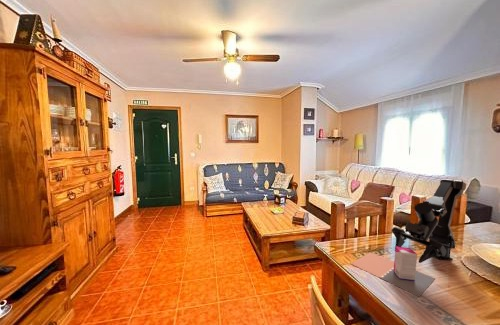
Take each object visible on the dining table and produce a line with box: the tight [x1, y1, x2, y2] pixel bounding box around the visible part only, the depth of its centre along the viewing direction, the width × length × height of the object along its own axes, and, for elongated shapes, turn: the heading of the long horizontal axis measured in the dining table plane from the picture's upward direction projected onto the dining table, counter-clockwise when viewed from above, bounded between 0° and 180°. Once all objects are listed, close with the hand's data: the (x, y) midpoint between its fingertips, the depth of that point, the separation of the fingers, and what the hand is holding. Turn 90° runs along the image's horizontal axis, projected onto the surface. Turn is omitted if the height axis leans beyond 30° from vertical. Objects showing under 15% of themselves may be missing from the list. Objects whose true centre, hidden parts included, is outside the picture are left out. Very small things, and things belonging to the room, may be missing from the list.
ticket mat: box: [350, 252, 436, 298], centre depth 95 cm, size 26×18×1 cm
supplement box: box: [393, 246, 418, 281], centre depth 90 cm, size 6×6×12 cm
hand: (406, 256), depth 90 cm, fingers open, 9 cm apart
